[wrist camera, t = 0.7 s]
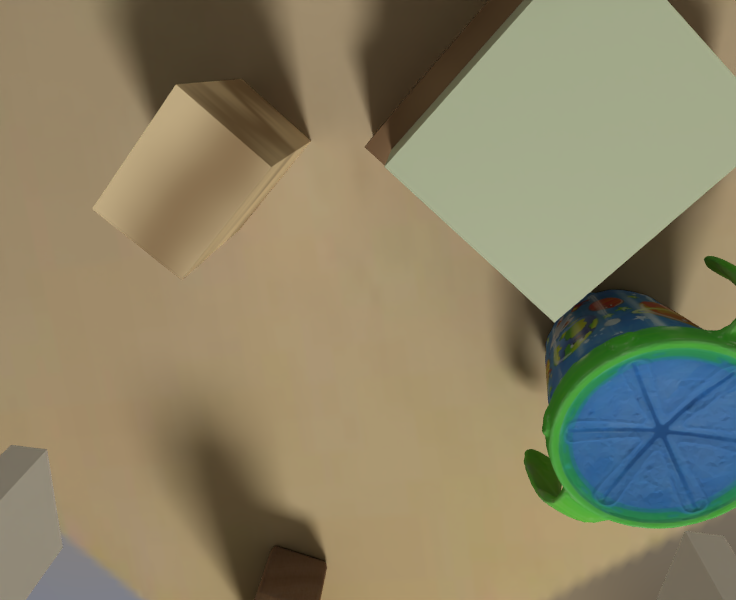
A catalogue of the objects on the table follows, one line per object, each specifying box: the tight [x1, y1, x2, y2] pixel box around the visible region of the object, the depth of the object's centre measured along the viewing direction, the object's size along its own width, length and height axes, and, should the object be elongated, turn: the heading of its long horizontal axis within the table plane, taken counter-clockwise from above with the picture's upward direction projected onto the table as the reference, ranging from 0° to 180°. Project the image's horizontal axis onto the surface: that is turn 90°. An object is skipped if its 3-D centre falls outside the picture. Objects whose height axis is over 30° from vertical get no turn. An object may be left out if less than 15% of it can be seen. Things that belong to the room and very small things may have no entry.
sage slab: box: [385, 0, 736, 323], centre depth 25 cm, size 10×11×5 cm
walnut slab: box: [365, 0, 523, 165], centre depth 29 cm, size 12×13×5 cm
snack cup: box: [524, 256, 736, 528], centre depth 31 cm, size 16×10×10 cm
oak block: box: [92, 79, 311, 280], centre depth 30 cm, size 5×7×9 cm
